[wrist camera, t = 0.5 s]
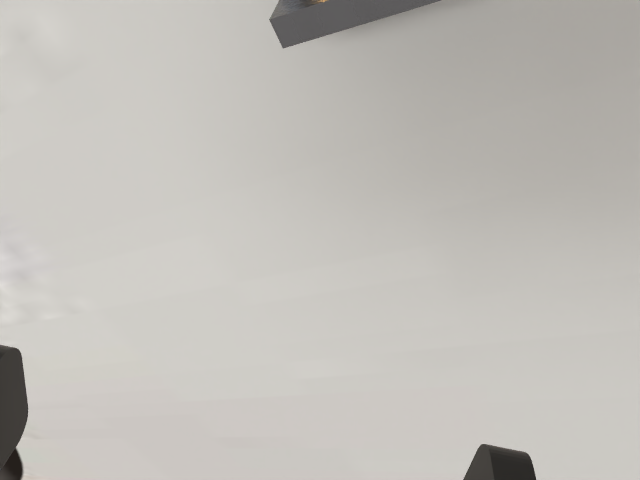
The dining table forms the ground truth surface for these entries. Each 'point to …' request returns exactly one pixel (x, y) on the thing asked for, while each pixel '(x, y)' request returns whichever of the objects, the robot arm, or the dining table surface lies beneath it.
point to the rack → (331, 16)
